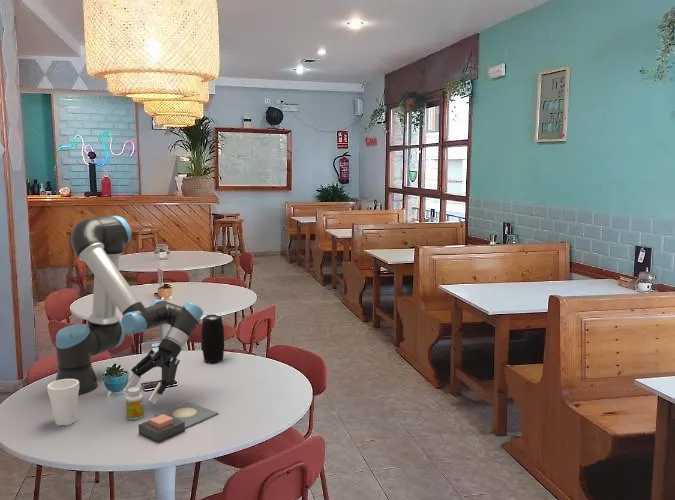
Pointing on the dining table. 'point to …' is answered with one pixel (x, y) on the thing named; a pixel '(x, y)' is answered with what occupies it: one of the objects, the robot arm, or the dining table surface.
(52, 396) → the foam cup
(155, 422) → the button
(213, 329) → the portable speaker
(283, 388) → the dining table surface
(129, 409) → the supplement bottle
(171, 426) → the button housing
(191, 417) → the slate board
